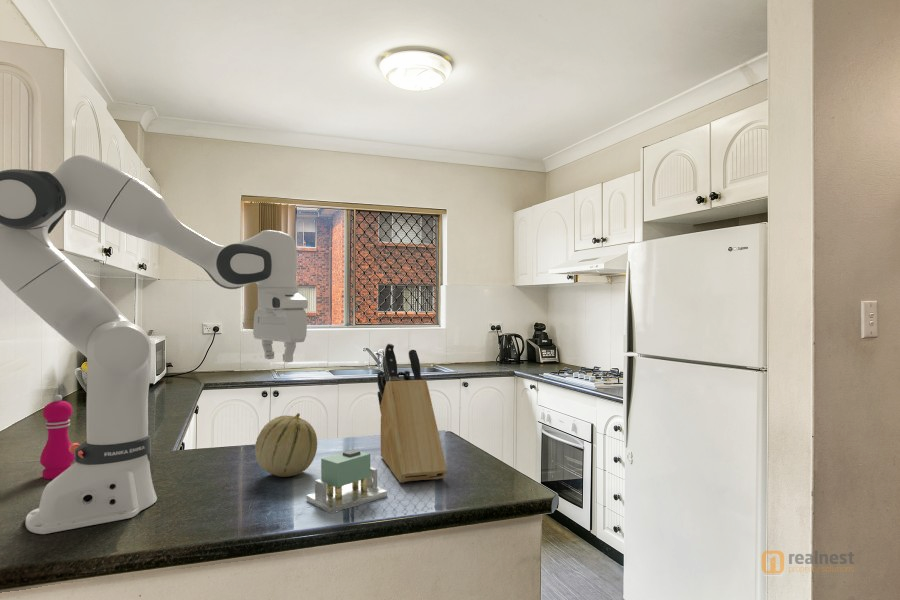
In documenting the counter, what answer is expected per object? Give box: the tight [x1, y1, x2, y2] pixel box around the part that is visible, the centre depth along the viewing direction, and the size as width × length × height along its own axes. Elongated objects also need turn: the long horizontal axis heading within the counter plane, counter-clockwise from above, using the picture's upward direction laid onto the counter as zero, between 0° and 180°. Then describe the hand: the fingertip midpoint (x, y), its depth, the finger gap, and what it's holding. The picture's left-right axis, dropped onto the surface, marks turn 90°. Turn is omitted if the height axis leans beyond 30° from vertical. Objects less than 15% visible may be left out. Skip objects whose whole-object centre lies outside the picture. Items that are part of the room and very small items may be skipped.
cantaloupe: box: [254, 412, 318, 478], centre depth 134 cm, size 15×15×15 cm
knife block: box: [376, 343, 448, 483], centre depth 142 cm, size 11×35×31 cm, turn 18°
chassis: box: [305, 466, 388, 514], centre depth 117 cm, size 14×10×5 cm
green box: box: [320, 449, 371, 488], centre depth 117 cm, size 9×6×6 cm, turn 140°
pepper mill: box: [39, 394, 75, 480], centre depth 135 cm, size 7×7×20 cm
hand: (278, 360), depth 126 cm, fingers open, 8 cm apart
